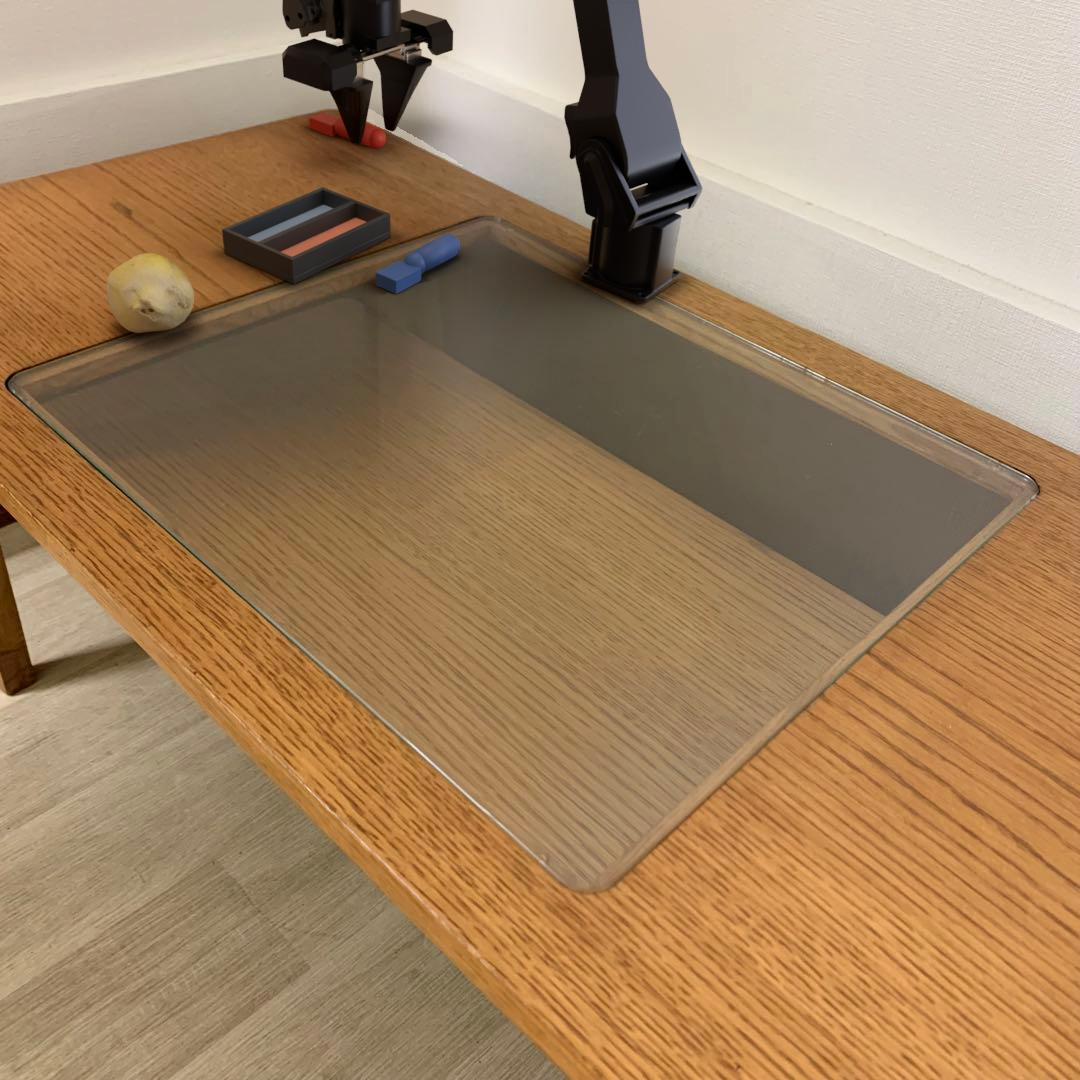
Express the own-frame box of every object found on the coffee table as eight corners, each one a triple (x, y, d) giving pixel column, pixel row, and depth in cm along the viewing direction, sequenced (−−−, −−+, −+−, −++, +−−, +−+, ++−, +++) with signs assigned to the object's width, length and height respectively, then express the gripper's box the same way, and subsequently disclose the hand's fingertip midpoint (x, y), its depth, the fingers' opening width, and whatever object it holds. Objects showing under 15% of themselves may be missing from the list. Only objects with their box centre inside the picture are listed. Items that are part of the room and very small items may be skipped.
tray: (390, 237, 100) (390, 213, 98) (293, 284, 92) (292, 259, 90) (323, 210, 103) (322, 186, 101) (224, 253, 95) (221, 229, 94)
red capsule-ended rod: (390, 147, 115) (390, 128, 114) (376, 153, 114) (376, 133, 112) (324, 123, 119) (323, 104, 118) (309, 128, 117) (308, 109, 116)
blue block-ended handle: (445, 248, 99) (446, 227, 97) (465, 256, 98) (466, 235, 97) (375, 285, 93) (375, 263, 91) (396, 294, 92) (396, 271, 91)
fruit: (191, 284, 91) (212, 328, 83) (120, 314, 90) (135, 361, 82) (158, 217, 87) (177, 257, 79) (84, 247, 86) (95, 291, 78)
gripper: (371, -64, 114) (374, 94, 124) (232, -33, 101) (248, 139, 111) (458, -40, 109) (454, 121, 119) (324, -6, 97) (332, 171, 107)
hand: (373, 136), depth 114 cm, fingers open, 5 cm apart
